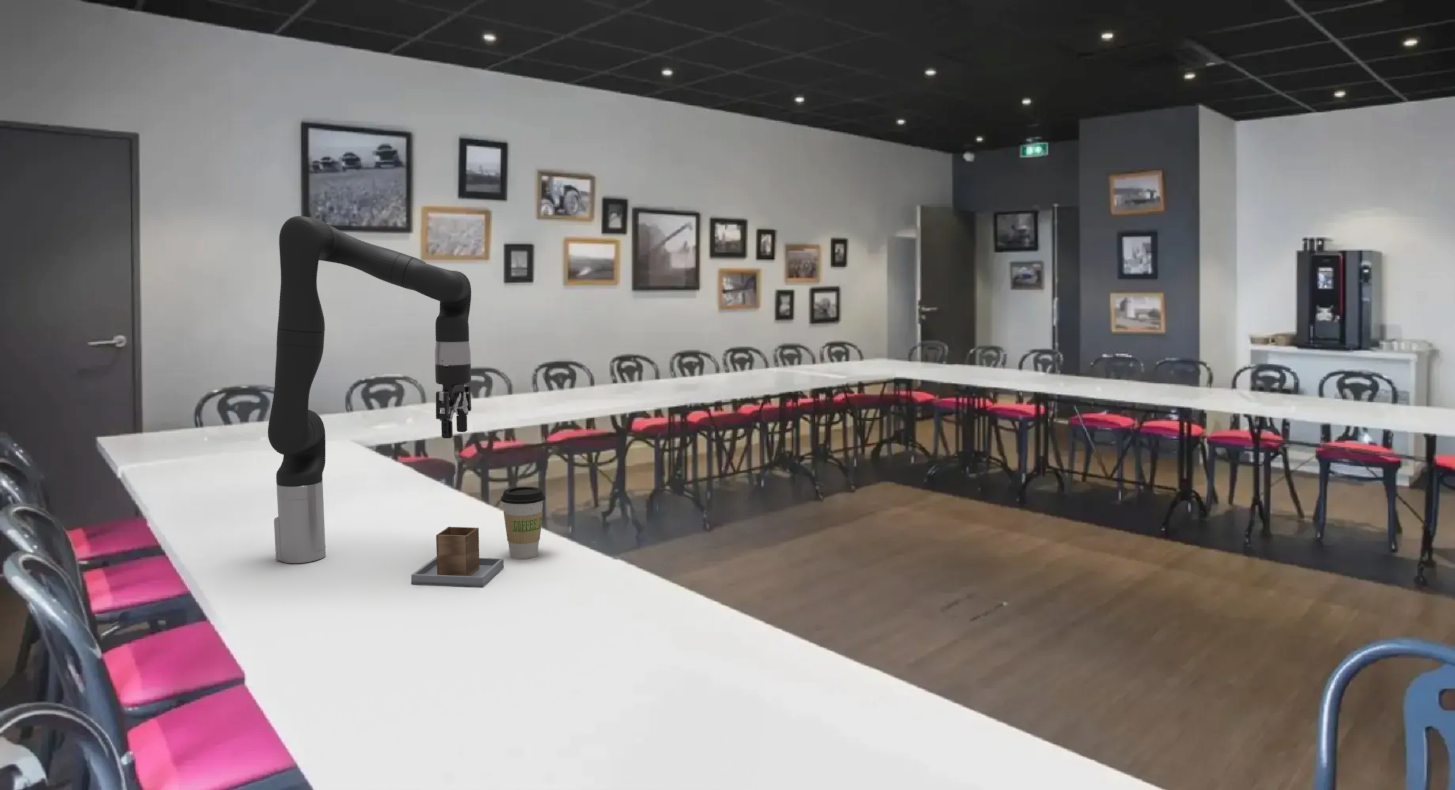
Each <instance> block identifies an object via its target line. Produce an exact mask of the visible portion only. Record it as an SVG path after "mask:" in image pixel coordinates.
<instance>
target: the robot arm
mask: <svg viewBox="0 0 1455 790" xmlns="http://www.w3.org/2000/svg"><path fill="white" fill-rule="evenodd" d="M278 236H279V237H278V249H279V265H280V267H279V268H280V287H279V289H280V290H279V301H278V304H279V305H278V320H277V326H276V327H277V331H276V353H275V354H276V357H275V371H274V372H275V373H274V390H273V397H272V403H271V409H270V413H269V414H270V415H269V420H268V426H267V438H268V441H269V444H270V446H271V447H272V449H273V450H274V451H275V452H277V453H279V454H280V455H283V457H282V462H281V464H280V466H279V468H278V470H277V471H276V474H275V475H276V477H275V482H276V500H277V517H275V518H274V520H273V525H274V527H273V528H274V546H275V549H274V551H275V561H277V562H278V561H280V562H282V563H286V564H304V563H311V562H315V561H319V560H321V559H323V558H325V557H326V547H327V546H326V533H325V532H326V531H325V530H326V528H325V506H324V501H325V500H324V485H323V484H324V483H323V481H324V480H323V475H324V474H323V473H324V470H325V466H326V430H325V424H324V422H323V419H322V418H321V417H320V415H319V414H317V412H315V411H313V410H310V409H309V400H310V392H311V388H312V385H313V382H314V380H315V377H316V374H317V373H318V369H319V367H320V364H321V362H322V358H323V354H324V347H325V332H326V325H325V323H326V322H325V316H324V311H323V308H322V304H321V301H320V297H319V292H318V282H317V281H318V280H317V279H318V268H319V261H321V262H329V263H334V264H339V265H344V266H348V267H350V268H354V269H357V270H358V271H361V272H363V273H365V274H367V275H370V276H371V277H374V278H375V279H378V280H380V281H383V282H386V283H388V284H391V285H395V286H397V287H401V288H403V289H405V290H406V289H407V290H410V291H414V292H417V293H419V294H421V295H424V296H426V297H428V298H429V299H433V300H435V301H438V302H439V312H438V316H437V317H436V319H435V331H434V332H435V346H434V347H435V348H434V373H435V375H434V376H435V379H434V380H435V384H437V385H441V386H442V391H439V390H437V391H436V392H435V418H436V420H439V421H440V423H441V424H440V425H441V429H440V430H441V438H442V439H452V438H453V437H454V433H453V431H454V430H453V417H454V414H456V417H455V419H456V420H455V421H456V431H457V432H458V433H466V432H467V431H468V416H469V412H471V411H472V398H471V397H472V394H471V385H468V384H470V383H471V382H472V364H471V363H472V359H471V357H472V356H471V346H470V326H469V318H470V317H469V316H470V311H471V303H472V302H471V301H472V286H471V282H470V279H469V278H468V277H467V275H466V274H465V273H464V272H462V271H458V270H450V269H446V268H443V267H439V266H436V265H433V264H430V263H426V262H425V261H424V260H422V259H420V258H417V257H414V256H412V255H409V254H406V253H403V252H399V251H396V250H394V249H390V248H386V247H383V246H380V245H377V244H376V245H375V244H372V243H370V242H367V241H364V240H361V239H358V238H356V237H353V236H351V235H350V234H347V233H346V232H343V231H341V230H339V229H338V228H336V227H334V226H332V225H330V224H328V223H326V222H325V221H323V220H322V219H319V218H315V217H310V216H304V215H297V216H296V215H295V216H292V217H289V218H288V219H287V220H286V221H285V222H284V223H283V224H282V226H281V228H280V231H279V235H278Z"/></svg>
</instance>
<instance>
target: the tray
mask: <svg viewBox="0 0 1455 790" xmlns="http://www.w3.org/2000/svg"><path fill="white" fill-rule="evenodd" d="M504 559H505V558H497V557H495V558H494V557H479V569H478V570H477V571H476V572H475V573H474V574H473V575H472V576H451V575H437V555H436V556H435V557H434V558H432V559H431V560H430V561H428V562H426V563H425V564H424V565H422V566H421V567H420V568H419V569H417V570H416V571H415V572H413V573H411V575H410V578H411V579H410V584H411V585H419V586H443V587H464V588H466V587H468V588H469V587H470V588H484V586H486V585H487V584H488V583H489V582H490V581H491V580H492V579H493V578H494V577H495V576H496V575H498V573H500V572H501V570H503V569H504V568H505V563H504V561H505V560H504Z"/></svg>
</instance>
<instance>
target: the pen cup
mask: <svg viewBox="0 0 1455 790" xmlns="http://www.w3.org/2000/svg"><path fill="white" fill-rule="evenodd" d="M479 529H480V528H479V527H466V526H460V527H459V526H448V527H445V529H443V530H442V531H440V532H439V533H437V534H436V535H435V538H436V539H435V540H436V542H435V543H436V547H435V548H436V556H437V575H451V576H472V575H473V574H474V573H475V572H476V571H477V570H478V569H479V558H480V534H479V533H480V532H479V531H480V530H479Z"/></svg>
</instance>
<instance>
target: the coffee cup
mask: <svg viewBox="0 0 1455 790" xmlns="http://www.w3.org/2000/svg"><path fill="white" fill-rule="evenodd" d="M545 499H546V496H545V494H544V493H543V489H542V488H540V487H535V486H515V487H511V488H507V489H504V490H503V492H502V495H501V497H500V501H501V502H502V505H503V519H504V525H505V534H506V541H507V544H508V551H509V556H510V558H512V559H516V560H525V559H526V560H527V559H532V558H535V557H537V556H538V553H539V546H540V545H539V544H540V539H541V533H542V532H541V531H542V521H543V514H544V510H543V504H544V501H545Z"/></svg>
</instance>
